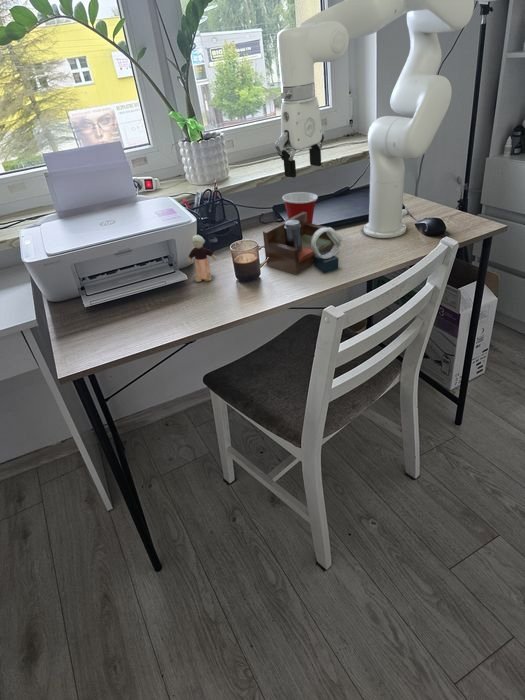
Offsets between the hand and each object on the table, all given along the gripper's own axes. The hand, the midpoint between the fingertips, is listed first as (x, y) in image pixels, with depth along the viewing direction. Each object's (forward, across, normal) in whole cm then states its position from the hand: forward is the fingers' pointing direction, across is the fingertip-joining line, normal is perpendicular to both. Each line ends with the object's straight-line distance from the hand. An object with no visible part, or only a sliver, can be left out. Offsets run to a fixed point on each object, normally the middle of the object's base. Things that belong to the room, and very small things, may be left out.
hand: (303, 170), depth 115 cm
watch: (+25, -1, -6) cm, 26 cm away
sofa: (+25, 0, +3) cm, 25 cm away
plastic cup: (+25, +14, +15) cm, 32 cm away
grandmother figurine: (+24, -24, +18) cm, 38 cm away
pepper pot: (+20, -3, +2) cm, 21 cm away
